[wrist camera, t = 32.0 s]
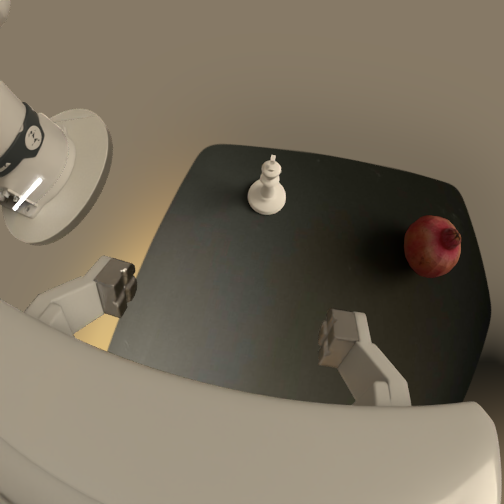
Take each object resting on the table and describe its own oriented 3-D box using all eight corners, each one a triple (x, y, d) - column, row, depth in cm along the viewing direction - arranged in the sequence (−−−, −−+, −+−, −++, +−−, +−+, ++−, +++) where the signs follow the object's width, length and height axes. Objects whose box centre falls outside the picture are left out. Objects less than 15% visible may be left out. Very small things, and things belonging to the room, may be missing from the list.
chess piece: (288, 183, 37) (300, 143, 27) (282, 218, 36) (294, 186, 26) (251, 176, 37) (252, 135, 27) (244, 211, 36) (242, 176, 26)
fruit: (391, 278, 34) (434, 268, 25) (392, 220, 36) (430, 195, 26) (435, 282, 34) (480, 274, 24) (435, 229, 36) (476, 209, 26)
